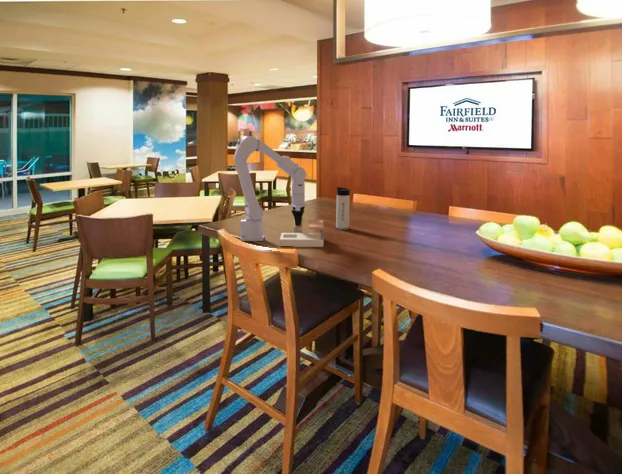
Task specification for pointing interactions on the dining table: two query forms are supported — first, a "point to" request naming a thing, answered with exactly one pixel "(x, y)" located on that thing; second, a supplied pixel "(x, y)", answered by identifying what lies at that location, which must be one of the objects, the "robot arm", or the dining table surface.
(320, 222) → the socket block
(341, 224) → the travel mug
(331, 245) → the dining table surface
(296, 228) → the peg
